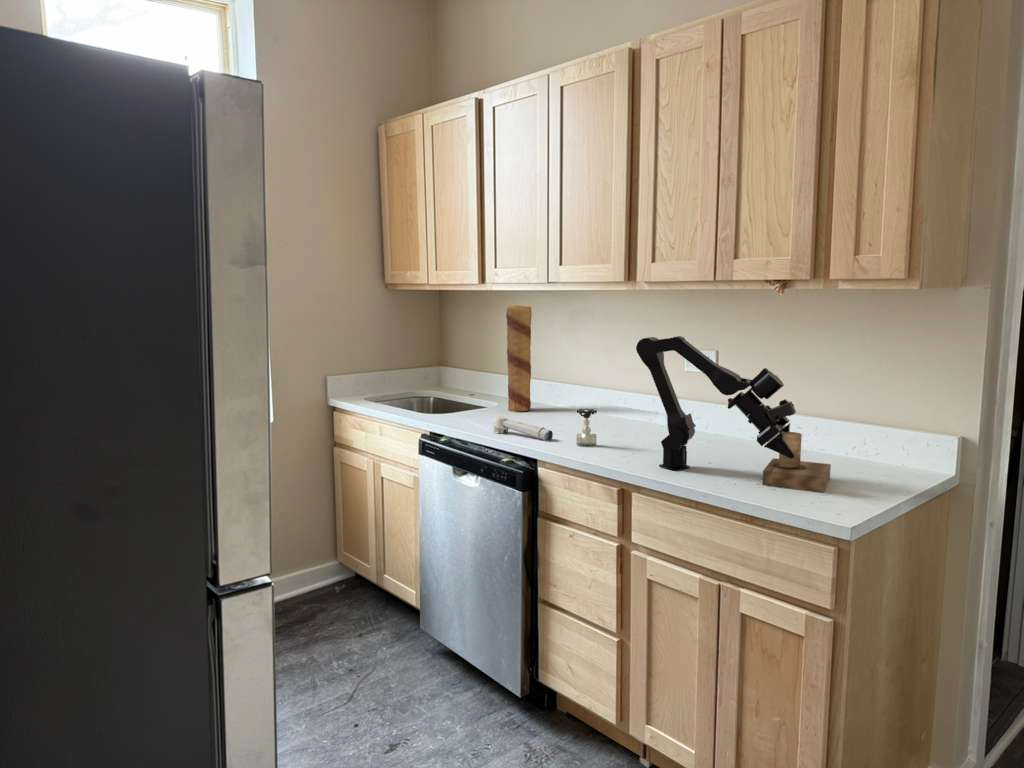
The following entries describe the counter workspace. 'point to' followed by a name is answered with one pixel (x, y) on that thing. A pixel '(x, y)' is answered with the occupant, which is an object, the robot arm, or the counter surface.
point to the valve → (586, 429)
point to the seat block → (798, 476)
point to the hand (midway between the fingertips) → (795, 454)
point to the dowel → (795, 446)
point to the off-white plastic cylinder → (521, 428)
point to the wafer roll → (519, 357)
